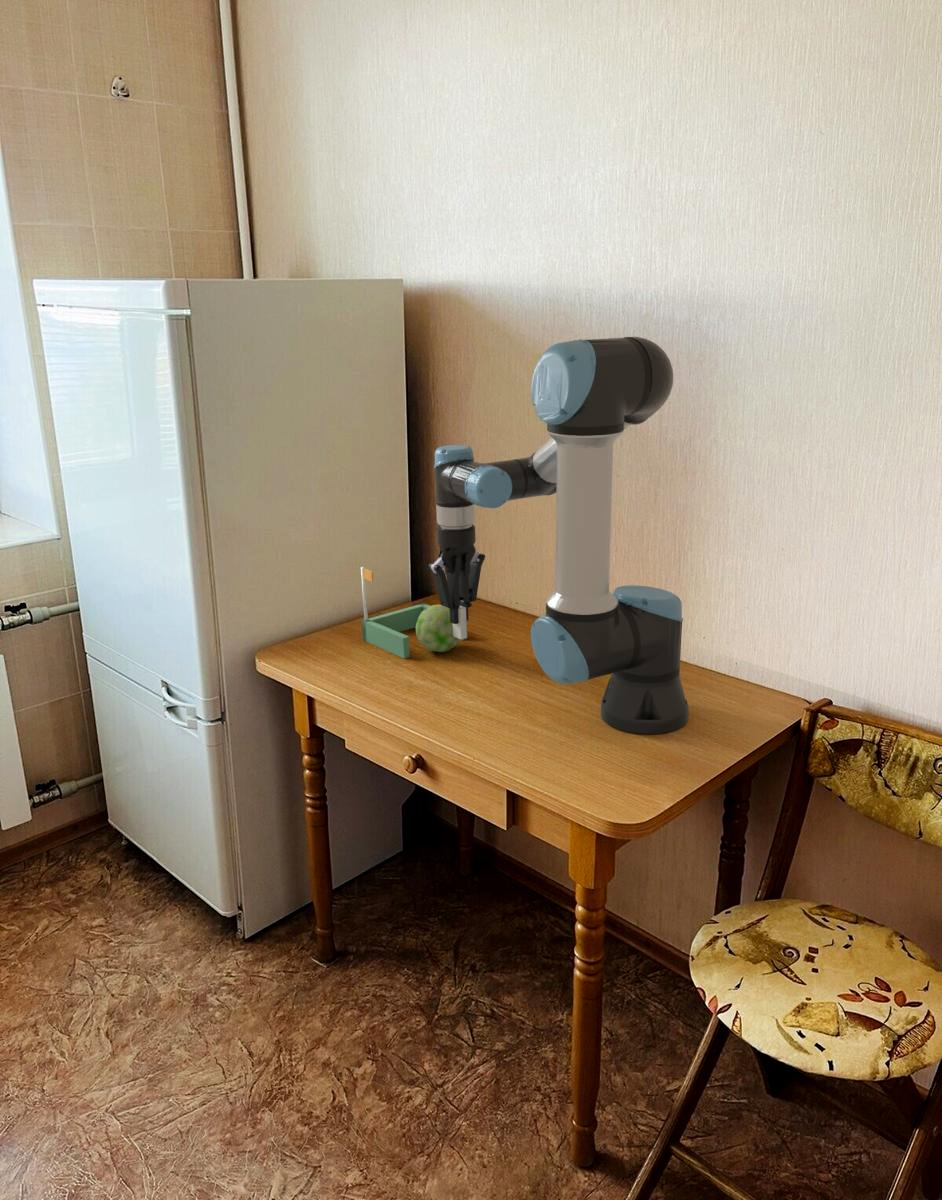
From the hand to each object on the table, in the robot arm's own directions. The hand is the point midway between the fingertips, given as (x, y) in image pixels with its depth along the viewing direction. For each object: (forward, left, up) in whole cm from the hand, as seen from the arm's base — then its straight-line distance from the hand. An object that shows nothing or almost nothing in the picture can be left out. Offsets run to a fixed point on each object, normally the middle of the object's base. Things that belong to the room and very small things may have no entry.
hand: (459, 636), depth 195 cm
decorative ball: (+6, 0, -5) cm, 8 cm away
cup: (+15, 0, -5) cm, 16 cm away
